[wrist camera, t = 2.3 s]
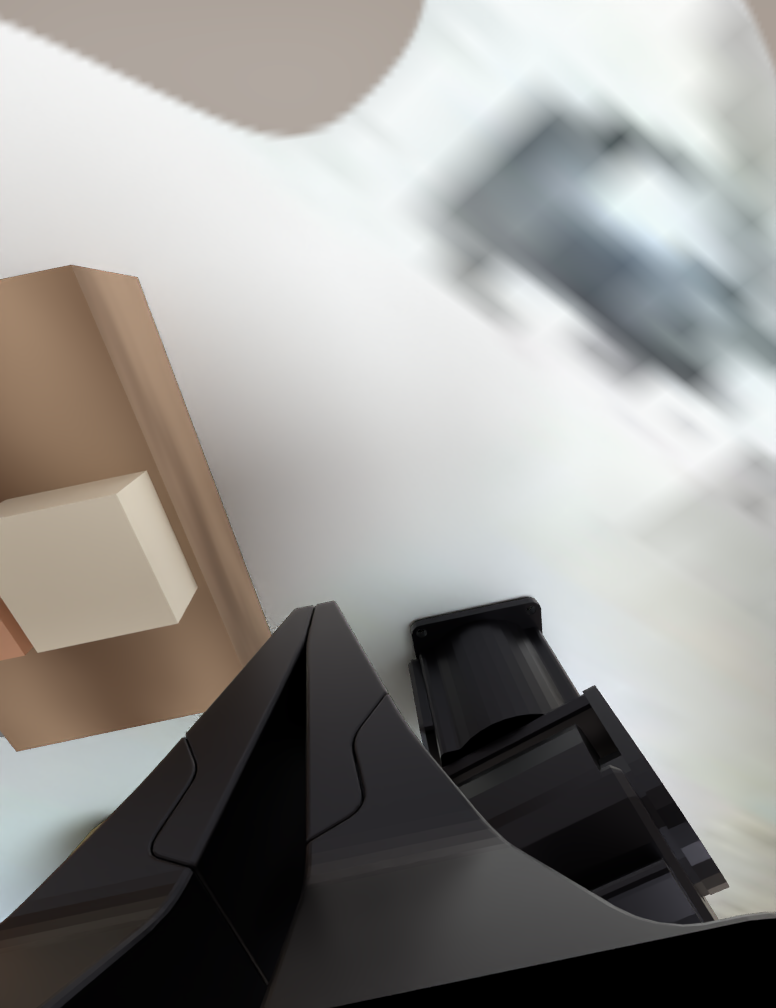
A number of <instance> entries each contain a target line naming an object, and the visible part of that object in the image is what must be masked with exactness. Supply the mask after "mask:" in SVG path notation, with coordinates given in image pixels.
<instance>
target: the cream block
mask: <svg viewBox="0 0 776 1008" xmlns="http://www.w3.org/2000/svg"><path fill="white" fill-rule="evenodd" d="M197 588H198V587H197V584H196V582H195V580H194V578H193V575H192V573H191V571H190V568H189V566H188V564H187V562H186V559H185V557H184V555H183V552H182V550H181V548H180V546H179V543H178V541H177V539H176V536H175V534H174V532H173V530H172V527H171V525H170V523H169V520H168V518H167V516H166V514H165V511H164V509H163V507H162V504H161V502H160V500H159V498H158V495H157V493H156V491H155V488H154V486H153V484H152V481H151V479H150V477H149V475H148V472H147V471H142V472H137V473H132V474H127V475H122V476H118V477H113V478H108V479H103V480H98V481H93V482H89V483H84V484H79V485H74V486H69V487H65V488H60V489H55V490H50V491H45V492H40V493H36V494H31V495H26V496H21V497H16V498H12V499H7V500H5V501H3V502H1V503H0V597H1V598H2V600H3V601H4V603H5V604H6V606H7V607H8V609H9V610H10V612H11V613H12V615H13V616H14V618H15V619H16V621H17V622H18V624H19V625H20V627H21V629H22V630H23V632H24V633H25V635H26V636H27V638H28V639H29V641H30V642H31V644H32V645H33V647H34V648H35V650H36V651H37V653H39V652H44V651H49V650H54V649H59V648H63V647H68V646H73V645H78V644H83V643H87V642H92V641H97V640H102V639H106V638H111V637H116V636H121V635H126V634H130V633H135V632H140V631H145V630H149V629H154V628H159V627H164V626H169V625H173V624H178V623H179V621H180V619H181V617H182V616H183V614H184V612H185V610H186V608H187V606H188V605H189V603H190V601H191V599H192V597H193V595H194V594H195V592H196V590H197Z"/></svg>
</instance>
